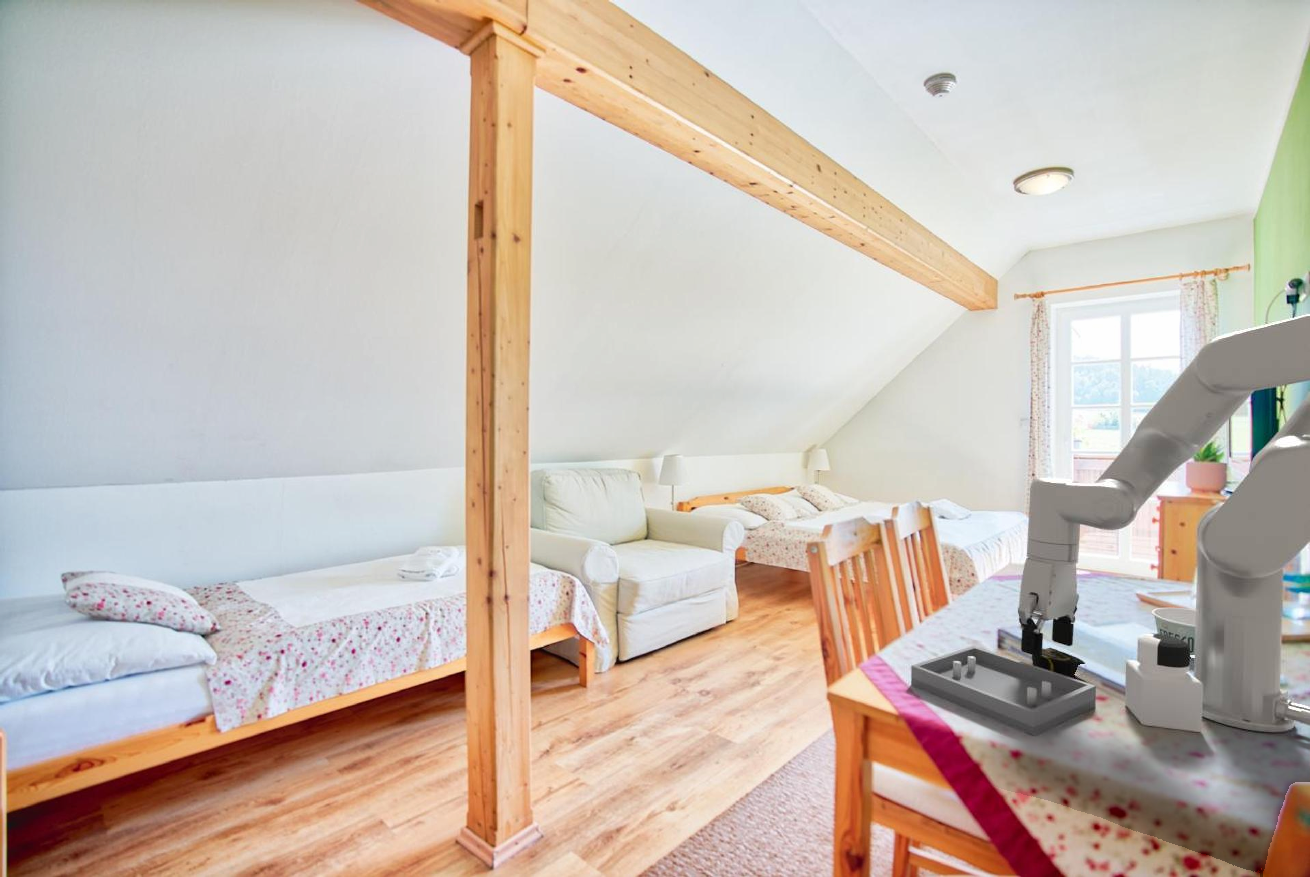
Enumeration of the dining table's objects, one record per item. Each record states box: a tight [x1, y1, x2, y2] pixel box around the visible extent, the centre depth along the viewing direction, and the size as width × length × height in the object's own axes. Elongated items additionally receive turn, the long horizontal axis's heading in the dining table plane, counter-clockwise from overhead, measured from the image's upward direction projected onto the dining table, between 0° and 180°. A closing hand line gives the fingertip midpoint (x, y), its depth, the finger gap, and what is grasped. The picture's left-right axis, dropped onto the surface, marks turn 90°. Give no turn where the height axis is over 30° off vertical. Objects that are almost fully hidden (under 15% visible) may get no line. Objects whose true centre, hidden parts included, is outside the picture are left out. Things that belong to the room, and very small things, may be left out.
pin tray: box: [910, 645, 1097, 737], centre depth 103 cm, size 20×17×4 cm
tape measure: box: [1031, 647, 1086, 679], centre depth 111 cm, size 7×7×4 cm
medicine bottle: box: [1124, 633, 1203, 733], centre depth 95 cm, size 7×7×12 cm
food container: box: [1151, 607, 1196, 655], centre depth 121 cm, size 12×12×6 cm
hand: (1046, 648), depth 111 cm, fingers open, 9 cm apart
